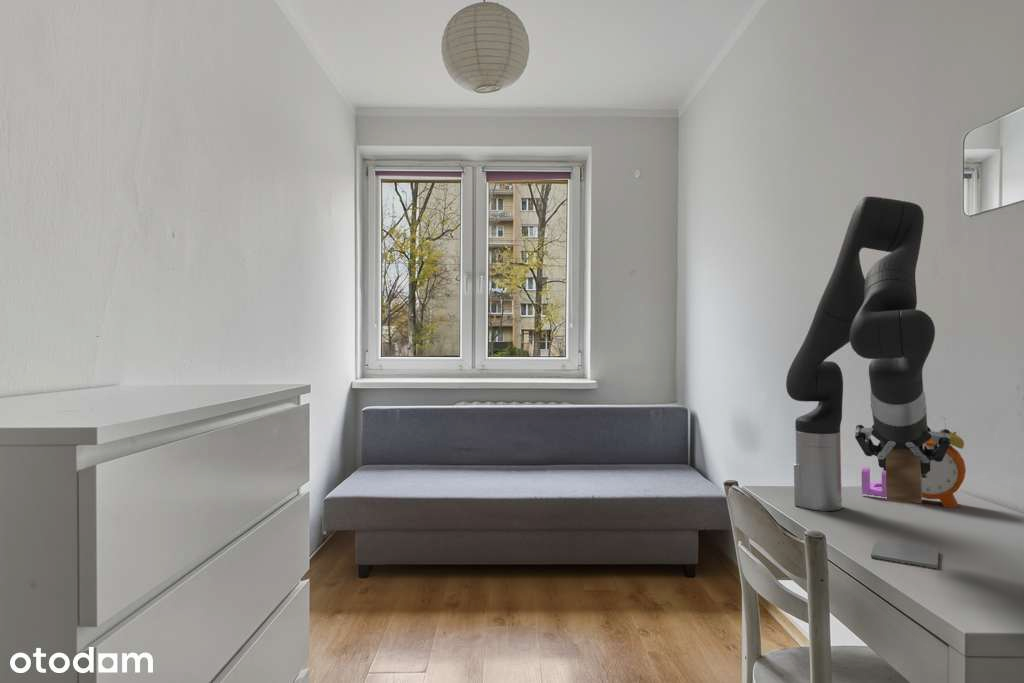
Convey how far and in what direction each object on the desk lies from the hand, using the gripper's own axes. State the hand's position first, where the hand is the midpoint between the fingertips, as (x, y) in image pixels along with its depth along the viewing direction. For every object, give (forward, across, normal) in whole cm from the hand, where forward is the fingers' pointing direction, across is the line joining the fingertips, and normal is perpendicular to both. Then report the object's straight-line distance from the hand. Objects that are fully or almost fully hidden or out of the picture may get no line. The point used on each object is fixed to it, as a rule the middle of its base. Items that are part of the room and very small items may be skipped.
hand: (904, 468), depth 108 cm
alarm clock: (+41, -3, -19) cm, 45 cm away
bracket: (+44, +8, -23) cm, 50 cm away
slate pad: (+9, 0, +12) cm, 15 cm away
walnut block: (+2, 0, +5) cm, 5 cm away
